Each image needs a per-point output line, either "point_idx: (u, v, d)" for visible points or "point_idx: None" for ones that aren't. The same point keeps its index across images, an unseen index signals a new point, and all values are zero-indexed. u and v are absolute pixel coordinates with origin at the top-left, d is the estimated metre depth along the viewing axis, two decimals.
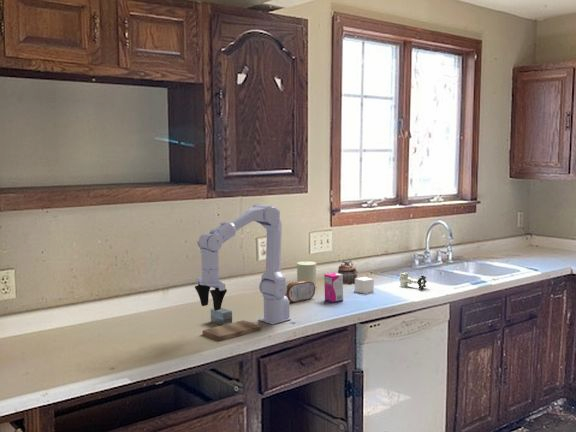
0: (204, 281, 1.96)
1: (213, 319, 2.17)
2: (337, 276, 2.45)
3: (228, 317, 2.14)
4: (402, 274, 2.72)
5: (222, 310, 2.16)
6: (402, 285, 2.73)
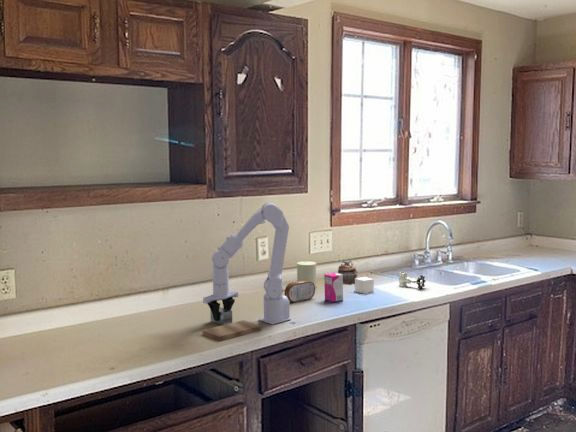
0: None
1: (213, 319, 2.17)
2: (337, 276, 2.45)
3: (228, 317, 2.14)
4: (401, 274, 2.73)
5: (222, 310, 2.16)
6: (401, 285, 2.73)
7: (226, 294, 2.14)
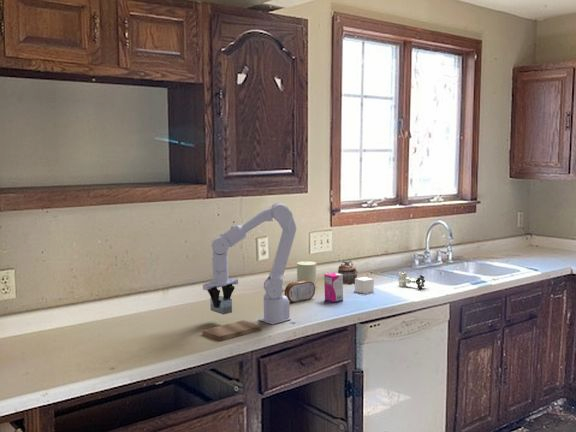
0: None
1: (213, 307, 2.17)
2: (337, 276, 2.45)
3: (228, 305, 2.13)
4: (401, 274, 2.73)
5: (222, 298, 2.15)
6: (401, 285, 2.73)
7: (226, 281, 2.13)
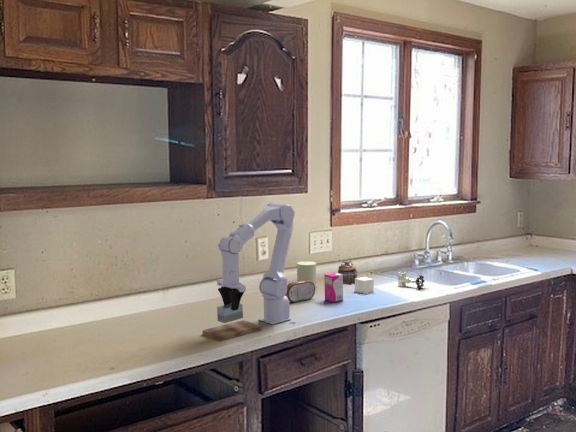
0: (225, 283, 2.01)
1: (228, 318, 2.02)
2: (337, 276, 2.45)
3: None
4: (400, 274, 2.73)
5: None
6: (400, 285, 2.74)
7: None
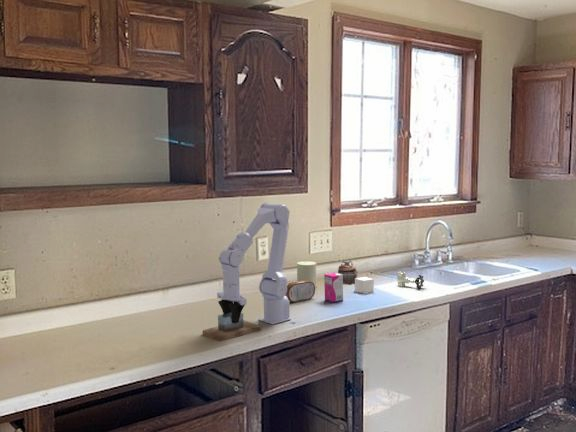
0: (225, 296, 2.02)
1: (229, 327, 2.02)
2: (337, 276, 2.45)
3: None
4: (400, 274, 2.73)
5: None
6: (400, 285, 2.74)
7: None
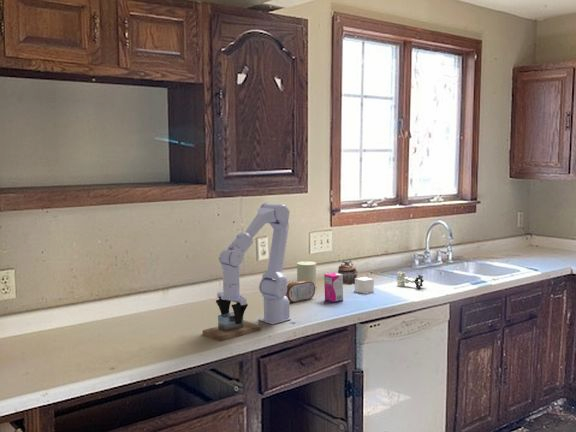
0: (225, 296, 2.02)
1: (229, 327, 2.02)
2: (337, 276, 2.45)
3: None
4: (399, 274, 2.73)
5: (232, 314, 2.05)
6: (399, 284, 2.74)
7: None
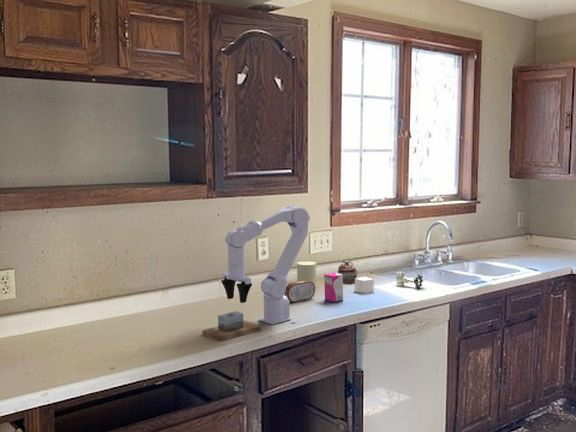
0: (231, 275, 2.09)
1: (229, 327, 2.02)
2: (337, 276, 2.45)
3: None
4: (398, 273, 2.74)
5: (232, 314, 2.05)
6: (398, 284, 2.74)
7: None
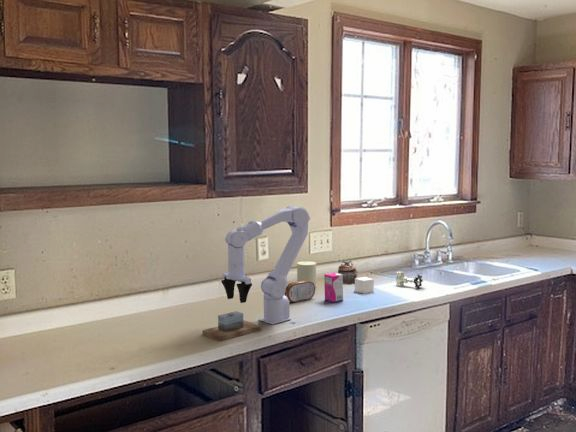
0: (231, 275, 2.09)
1: (229, 327, 2.02)
2: (337, 276, 2.45)
3: None
4: (398, 273, 2.74)
5: (232, 314, 2.05)
6: (398, 284, 2.74)
7: None
